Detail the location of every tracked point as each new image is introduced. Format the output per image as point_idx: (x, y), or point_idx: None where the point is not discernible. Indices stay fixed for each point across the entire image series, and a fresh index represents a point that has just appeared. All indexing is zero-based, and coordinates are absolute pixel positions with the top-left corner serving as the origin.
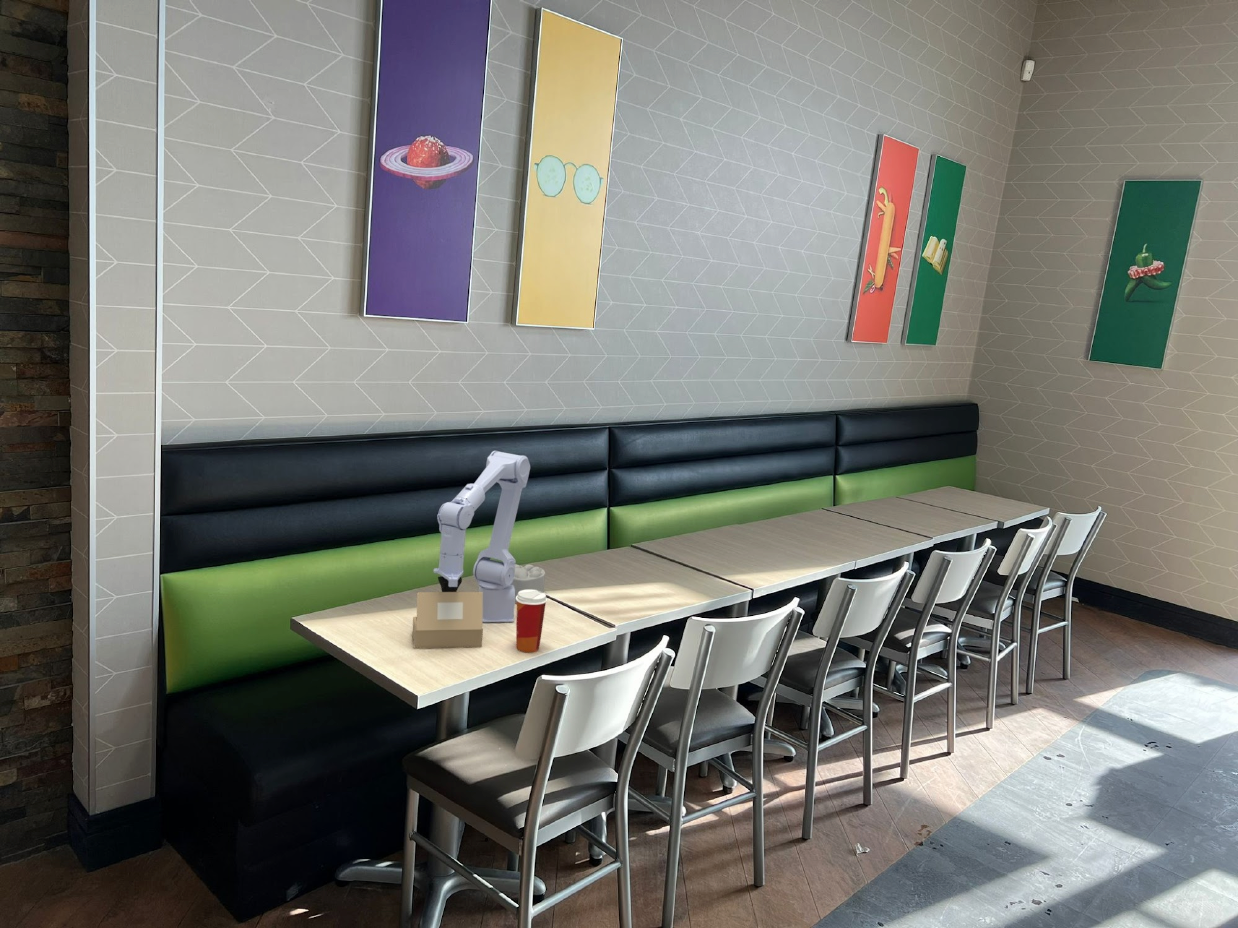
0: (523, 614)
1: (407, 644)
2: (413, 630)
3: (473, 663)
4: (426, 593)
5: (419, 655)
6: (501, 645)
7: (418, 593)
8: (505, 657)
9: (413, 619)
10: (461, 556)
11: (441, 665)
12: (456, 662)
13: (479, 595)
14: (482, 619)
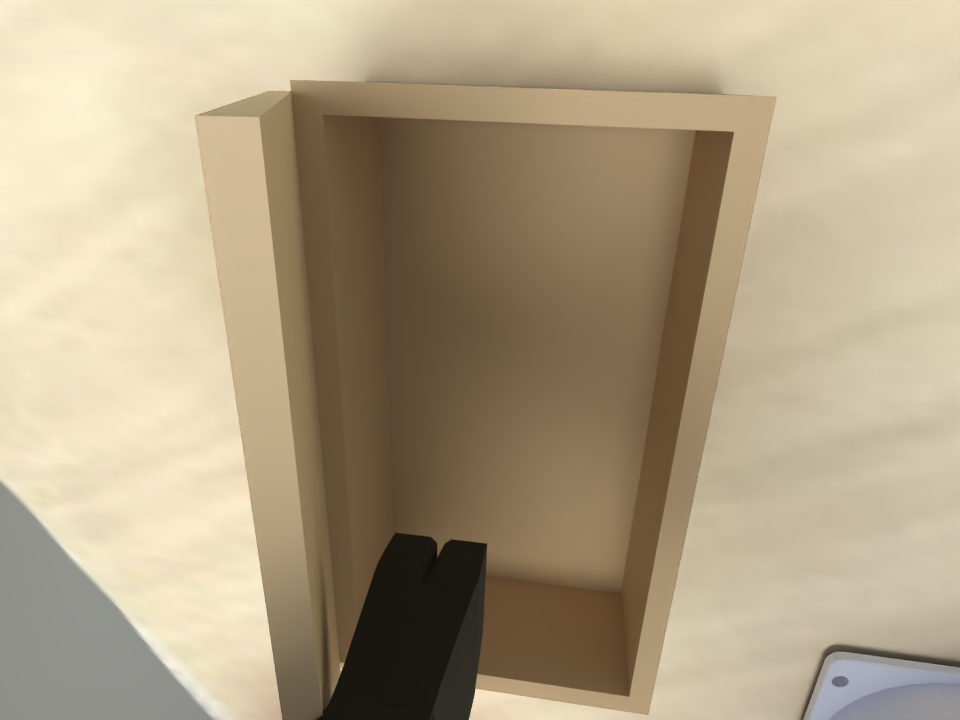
0: None
1: (458, 17)
2: (603, 90)
3: (124, 459)
4: (237, 386)
5: None
6: None
7: (209, 153)
8: (229, 632)
9: (703, 94)
10: None
11: (59, 258)
12: (124, 365)
13: None
14: (852, 689)
